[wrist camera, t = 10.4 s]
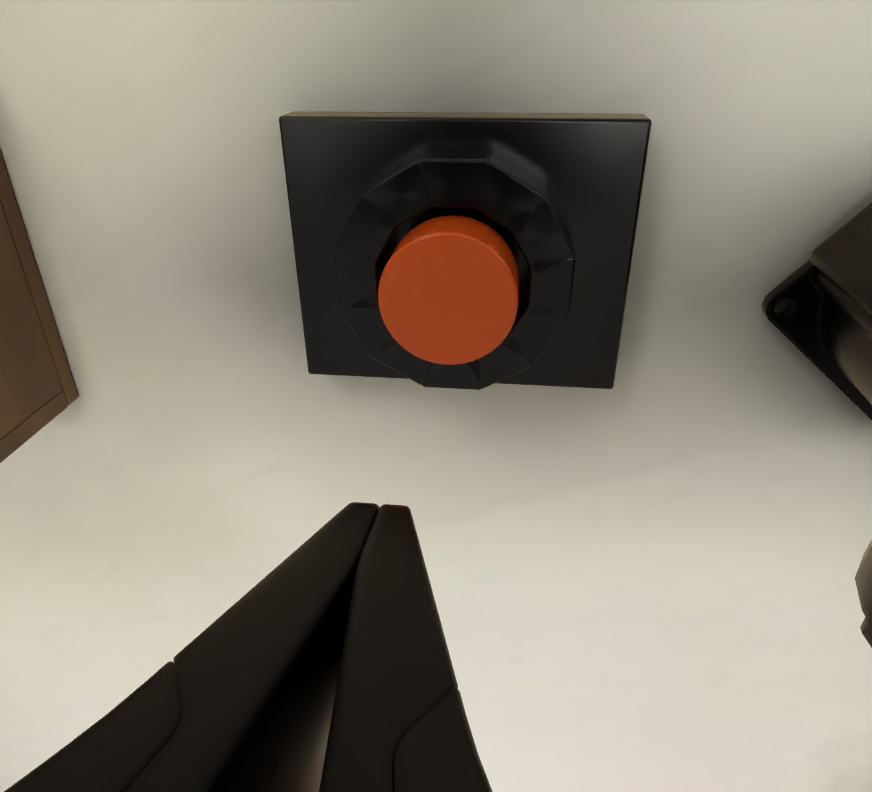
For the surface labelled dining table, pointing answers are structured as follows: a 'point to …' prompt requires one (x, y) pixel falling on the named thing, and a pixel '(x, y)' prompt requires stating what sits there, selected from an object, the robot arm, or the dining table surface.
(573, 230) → the black button base
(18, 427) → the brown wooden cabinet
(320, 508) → the dining table surface
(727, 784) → the dining table surface
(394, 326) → the button
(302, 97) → the dining table surface
